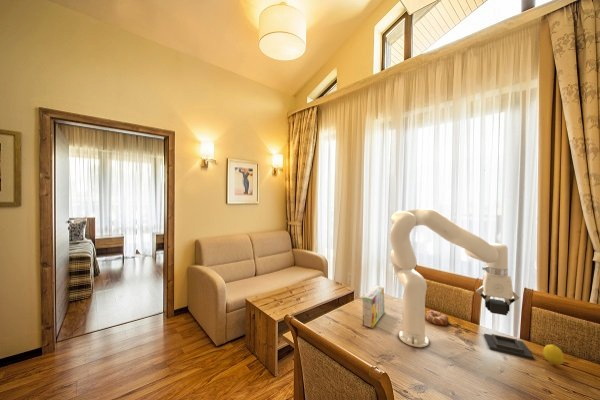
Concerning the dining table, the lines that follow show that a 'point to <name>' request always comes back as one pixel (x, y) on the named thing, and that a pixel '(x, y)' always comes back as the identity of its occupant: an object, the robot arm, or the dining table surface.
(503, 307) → the black block
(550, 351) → the lemon
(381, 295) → the snack box
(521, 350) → the base pad
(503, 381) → the dining table surface
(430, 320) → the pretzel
